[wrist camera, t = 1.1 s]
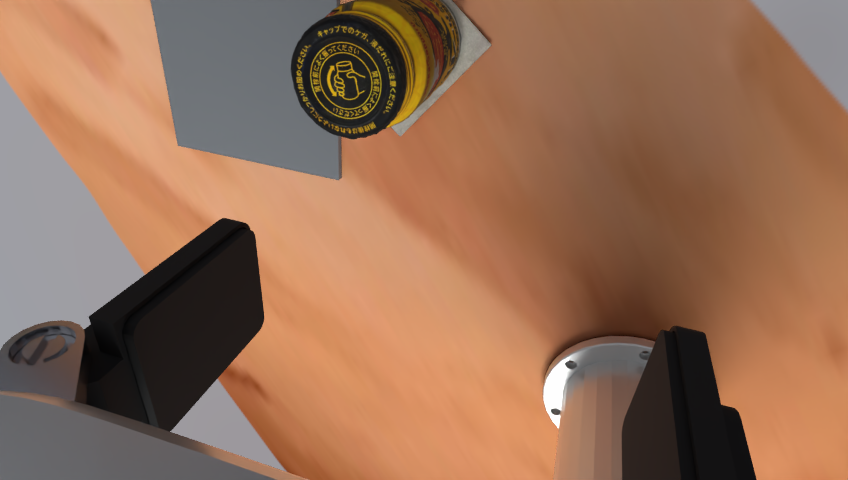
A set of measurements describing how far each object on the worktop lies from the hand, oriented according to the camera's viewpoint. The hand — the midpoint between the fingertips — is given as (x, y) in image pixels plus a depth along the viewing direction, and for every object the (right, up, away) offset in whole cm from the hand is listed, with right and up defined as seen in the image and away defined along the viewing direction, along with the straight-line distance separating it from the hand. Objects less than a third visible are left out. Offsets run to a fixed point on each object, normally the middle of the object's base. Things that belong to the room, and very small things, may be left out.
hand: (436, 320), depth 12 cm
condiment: (-2, +14, +22) cm, 26 cm away
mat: (-12, +16, +24) cm, 32 cm away
